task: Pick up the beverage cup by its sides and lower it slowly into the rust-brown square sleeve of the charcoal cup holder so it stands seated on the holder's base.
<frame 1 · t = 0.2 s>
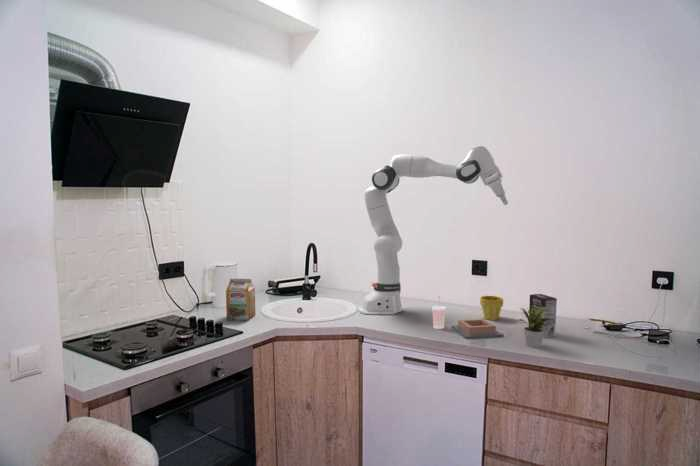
hand: (506, 204, 211), 54 cm above the worktop, tool tilted 30°, fingers open, 8 cm apart
cup holder: (476, 332, 195), on the worktop
coffee box: (541, 334, 193), on the worktop
beverage cup: (438, 327, 203), on the worktop
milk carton: (241, 318, 219), on the worktop
plant pot: (491, 318, 218), on the worktop
house plant: (530, 345, 178), on the worktop
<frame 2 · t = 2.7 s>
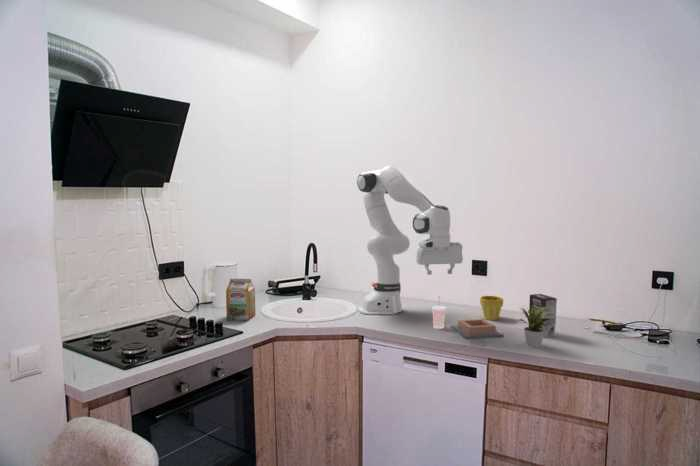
hand: (439, 274, 201), 24 cm above the worktop, tool pointing down, fingers open, 8 cm apart
nothing on the worktop moved.
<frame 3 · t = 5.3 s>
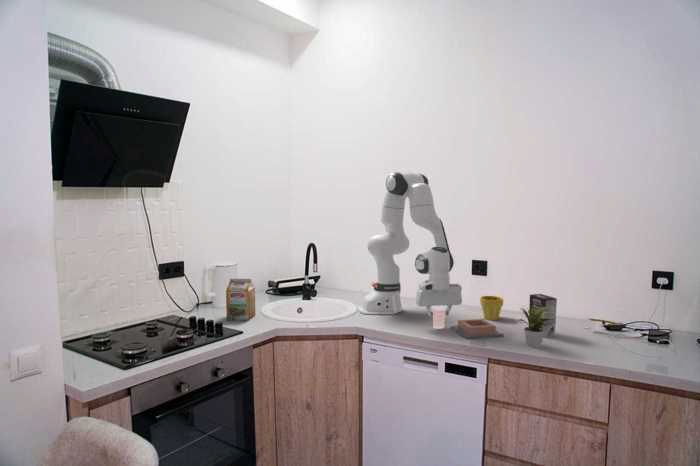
hand: (438, 315, 202), 5 cm above the worktop, tool pointing down, fingers closed on beverage cup, 6 cm apart
beverage cup: (438, 327, 203), on the worktop, touching gripper
everything else where it was.
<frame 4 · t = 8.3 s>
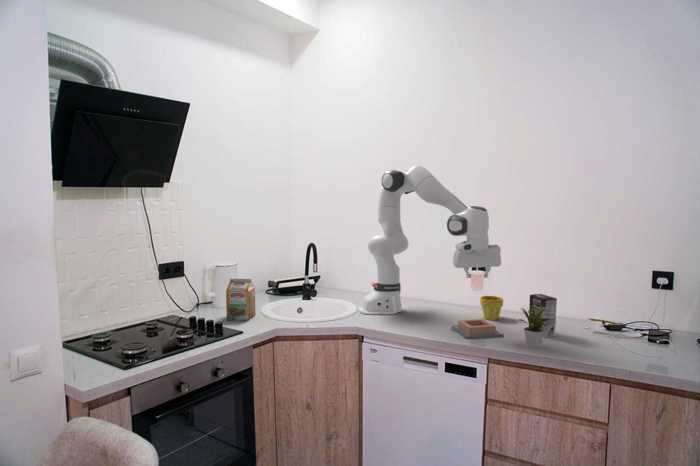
hand: (477, 277, 193), 24 cm above the worktop, tool pointing down, fingers closed on beverage cup, 6 cm apart
beverage cup: (477, 293, 193), point 17 cm above the worktop, touching gripper
everything else where it was.
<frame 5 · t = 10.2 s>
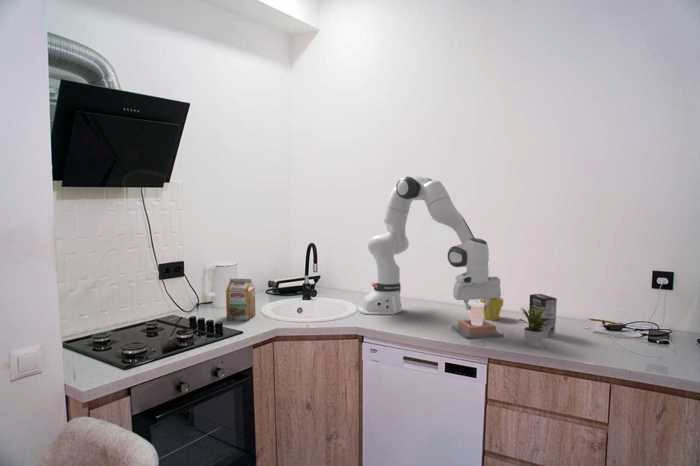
hand: (476, 309, 194), 10 cm above the worktop, tool pointing down, fingers closed on beverage cup, 6 cm apart
beverage cup: (476, 324, 195), point 3 cm above the worktop, touching gripper
everything else where it was.
when the fingers open (7 cm above the worktop, at t = 11.6 s): beverage cup stays where it is, resting on cup holder.
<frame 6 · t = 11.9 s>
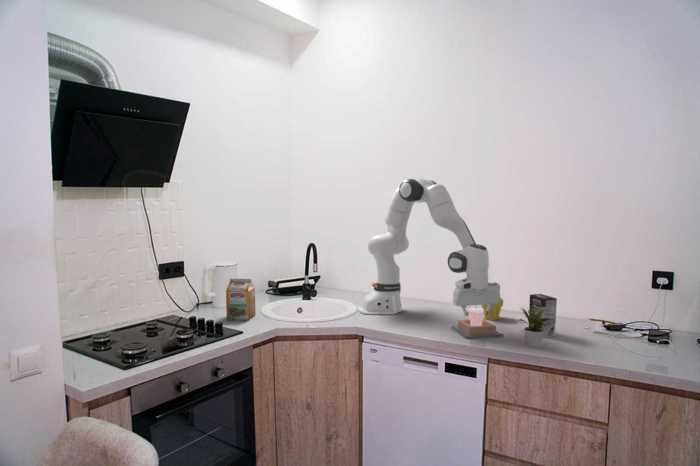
hand: (476, 315, 194), 7 cm above the worktop, tool pointing down, fingers open, 8 cm apart
beverage cup: (476, 330, 195), point 1 cm above the worktop, touching cup holder
everything else where it was.
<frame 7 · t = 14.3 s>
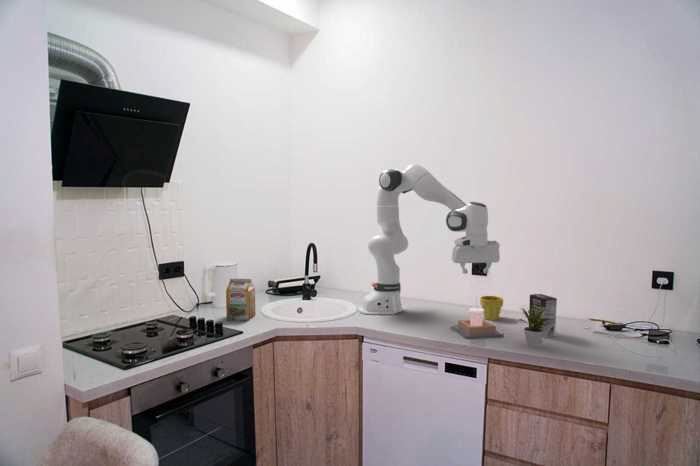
hand: (475, 273, 195), 25 cm above the worktop, tool pointing down, fingers open, 8 cm apart
nothing on the worktop moved.
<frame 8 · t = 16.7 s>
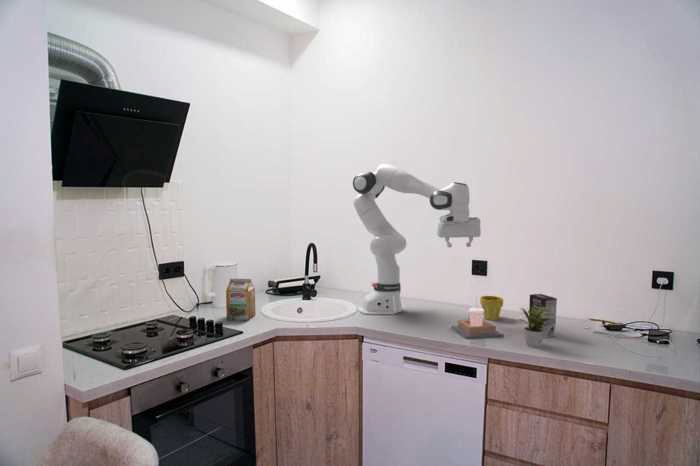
hand: (458, 246, 214), 34 cm above the worktop, tool pointing down, fingers open, 8 cm apart
nothing on the worktop moved.
at the end: beverage cup 0.1 cm off-centre on the cup holder, point 0.8 cm above the cup holder's base; beverage cup tilted 0°; the gripper is holding nothing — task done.
